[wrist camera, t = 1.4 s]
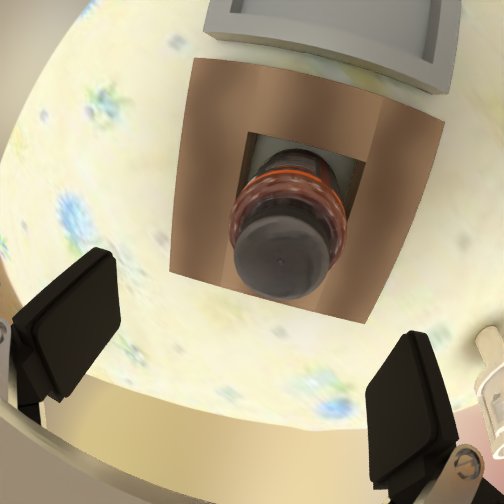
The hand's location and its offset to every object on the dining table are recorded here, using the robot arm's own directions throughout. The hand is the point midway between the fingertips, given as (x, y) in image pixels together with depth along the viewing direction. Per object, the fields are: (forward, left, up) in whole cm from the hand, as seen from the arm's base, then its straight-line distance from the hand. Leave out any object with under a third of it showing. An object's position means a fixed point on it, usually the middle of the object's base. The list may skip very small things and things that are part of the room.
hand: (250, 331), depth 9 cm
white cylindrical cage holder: (-25, +9, -15) cm, 31 cm away
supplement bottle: (0, 0, -15) cm, 15 cm away
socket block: (0, 0, -15) cm, 15 cm away
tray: (0, -18, -15) cm, 24 cm away
